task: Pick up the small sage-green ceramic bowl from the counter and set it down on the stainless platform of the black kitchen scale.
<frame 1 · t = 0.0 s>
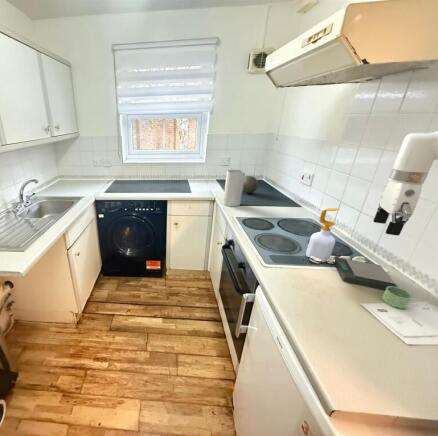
hand: (385, 228, 77), 27 cm above the worktop, tool pointing down, fingers open, 9 cm apart
bowl: (393, 302, 83), on the worktop
scale: (361, 275, 98), on the worktop
cylinder vase: (231, 204, 180), on the worktop
soap bottle: (316, 257, 111), on the worktop
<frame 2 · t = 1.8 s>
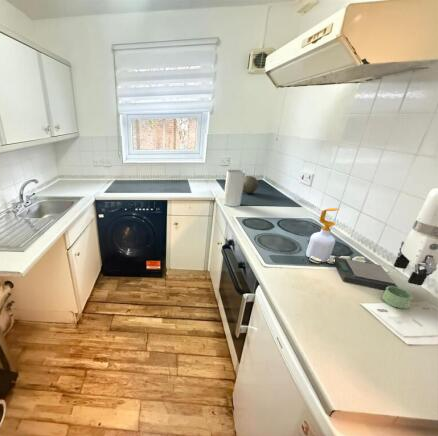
hand: (406, 275, 79), 12 cm above the worktop, tool pointing down, fingers open, 9 cm apart
nothing on the worktop moved.
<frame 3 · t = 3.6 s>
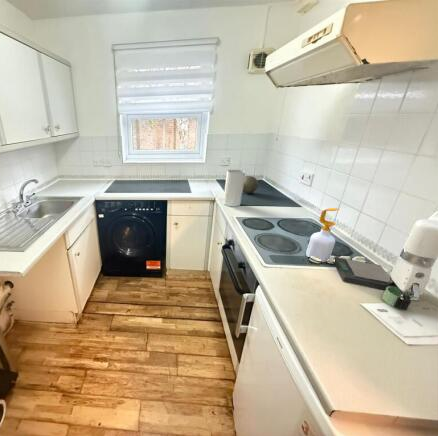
hand: (394, 300, 83), 1 cm above the worktop, tool pointing down, fingers closed on bowl, 6 cm apart
bowl: (393, 302, 83), on the worktop, touching gripper
everything else where it was.
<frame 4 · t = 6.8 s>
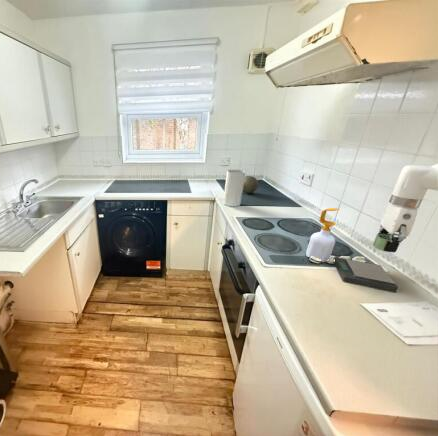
hand: (384, 246, 89), 16 cm above the worktop, tool pointing down, fingers closed on bowl, 6 cm apart
bowl: (383, 248, 89), point 15 cm above the worktop, touching gripper
everything else where it was.
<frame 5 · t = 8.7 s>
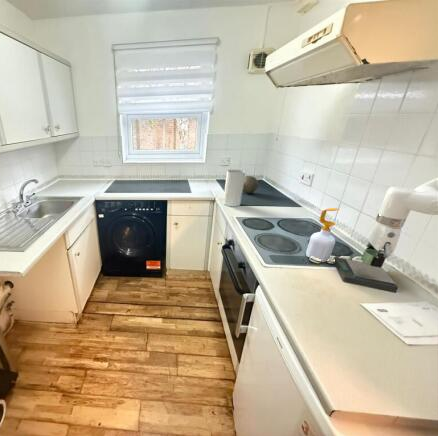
hand: (371, 261, 94), 7 cm above the worktop, tool pointing down, fingers closed on bowl, 6 cm apart
bowl: (371, 263, 95), point 6 cm above the worktop, touching gripper
everything else where it was.
when the fingers open (4 cm above the worktop, at t = 10.2 s): bowl stays where it is, resting on scale.
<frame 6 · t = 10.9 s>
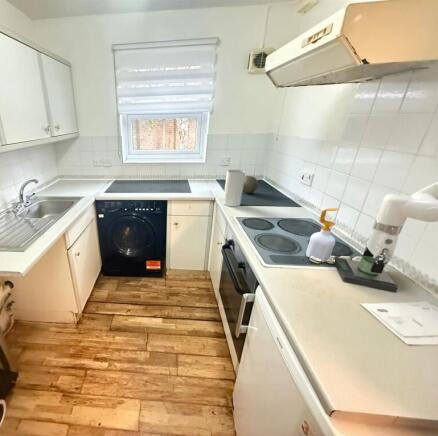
hand: (370, 265, 95), 5 cm above the worktop, tool pointing down, fingers open, 9 cm apart
bowl: (368, 270, 96), point 3 cm above the worktop, touching scale
everything else where it was.
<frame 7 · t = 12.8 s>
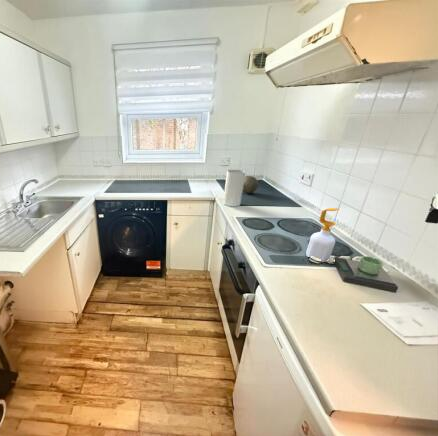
nothing on the worktop moved.
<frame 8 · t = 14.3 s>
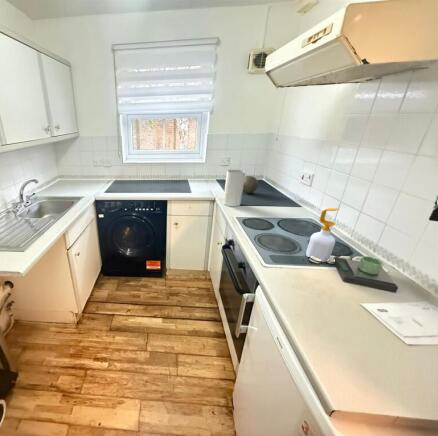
nothing on the worktop moved.
at the end: bowl inside the target area on the scale (0.1 cm from its centre), point 3.0 cm above the scale's base; bowl tilted 0°; the gripper is holding nothing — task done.
